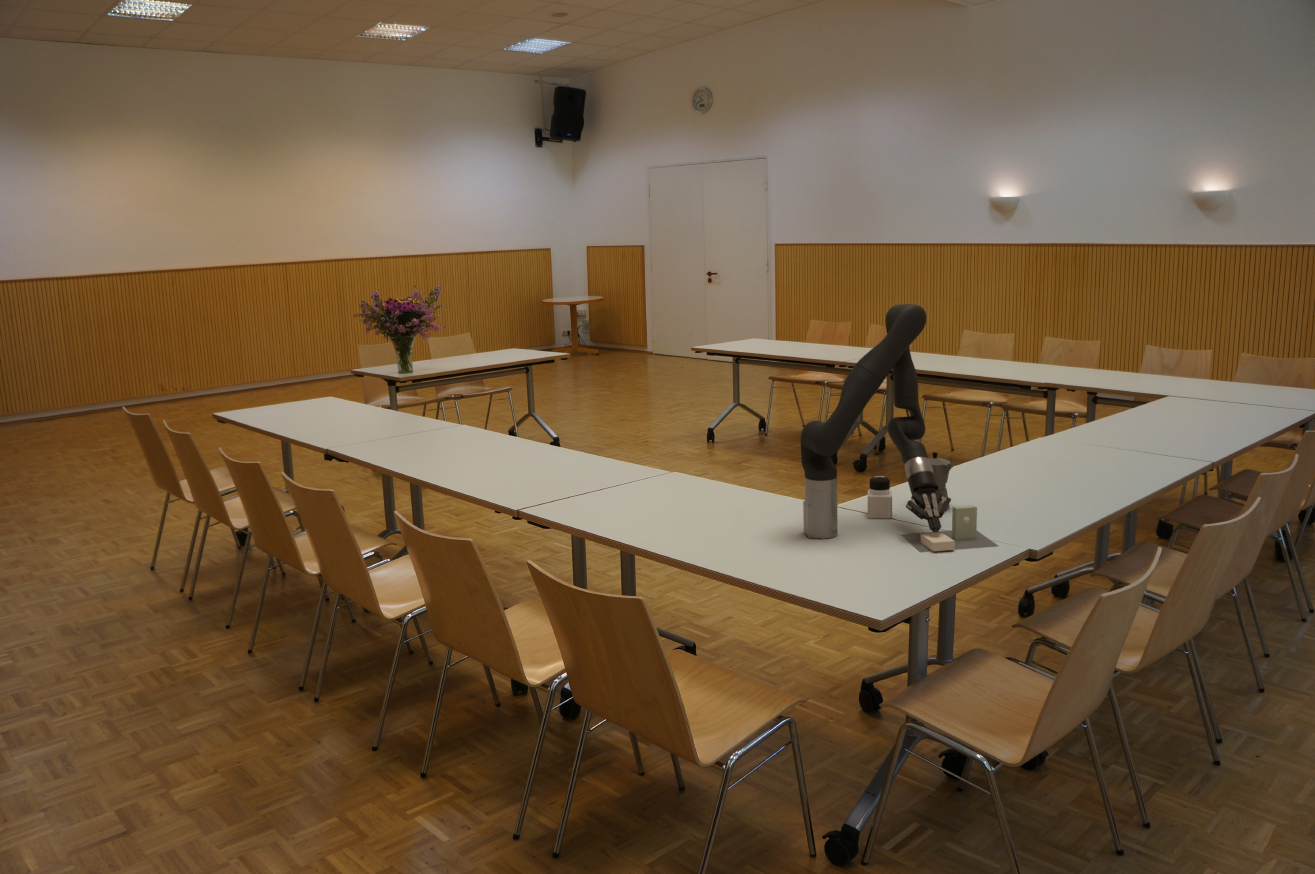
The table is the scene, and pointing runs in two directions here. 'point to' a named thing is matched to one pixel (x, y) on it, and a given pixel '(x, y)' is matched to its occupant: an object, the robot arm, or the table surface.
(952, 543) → the plain beige block
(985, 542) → the slate mat
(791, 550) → the table surface
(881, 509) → the medicine bottle
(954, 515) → the one-dot tile
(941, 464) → the coffeepot
